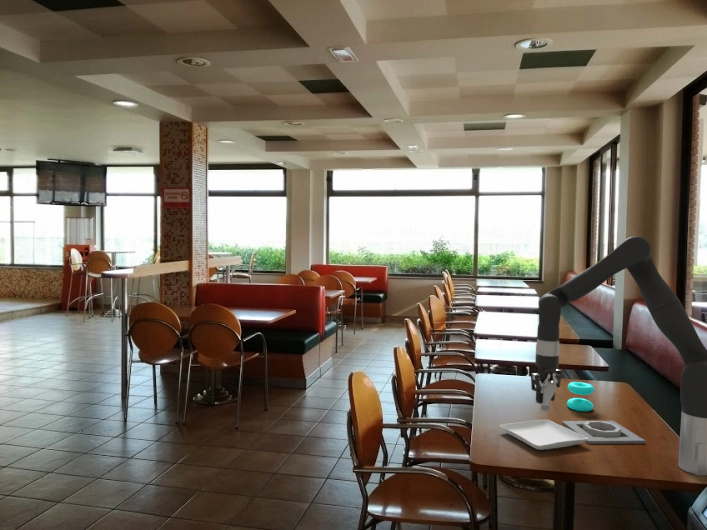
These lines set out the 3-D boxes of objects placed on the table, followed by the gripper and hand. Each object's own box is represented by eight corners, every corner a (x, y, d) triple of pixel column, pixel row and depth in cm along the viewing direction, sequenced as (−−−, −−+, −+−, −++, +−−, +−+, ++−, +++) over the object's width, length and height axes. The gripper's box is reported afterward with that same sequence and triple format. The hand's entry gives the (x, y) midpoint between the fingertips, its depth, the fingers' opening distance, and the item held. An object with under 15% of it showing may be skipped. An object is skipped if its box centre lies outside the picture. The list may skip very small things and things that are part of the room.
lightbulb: (558, 413, 189) (559, 381, 188) (542, 415, 187) (544, 382, 186) (546, 408, 195) (547, 377, 194) (531, 409, 193) (532, 378, 192)
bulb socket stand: (645, 443, 190) (645, 436, 190) (588, 443, 189) (588, 436, 188) (613, 423, 210) (613, 416, 210) (561, 423, 208) (562, 417, 208)
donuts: (571, 387, 223) (564, 380, 233) (570, 411, 223) (563, 404, 233) (597, 388, 222) (589, 381, 232) (596, 413, 222) (588, 405, 232)
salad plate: (497, 433, 198) (498, 423, 198) (546, 427, 205) (547, 417, 205) (537, 455, 178) (537, 445, 178) (589, 448, 186) (590, 438, 185)
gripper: (543, 357, 183) (541, 408, 184) (570, 352, 191) (567, 401, 192) (524, 353, 189) (522, 402, 190) (551, 348, 197) (549, 395, 198)
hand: (545, 401), depth 191 cm, fingers closed on lightbulb, 5 cm apart
